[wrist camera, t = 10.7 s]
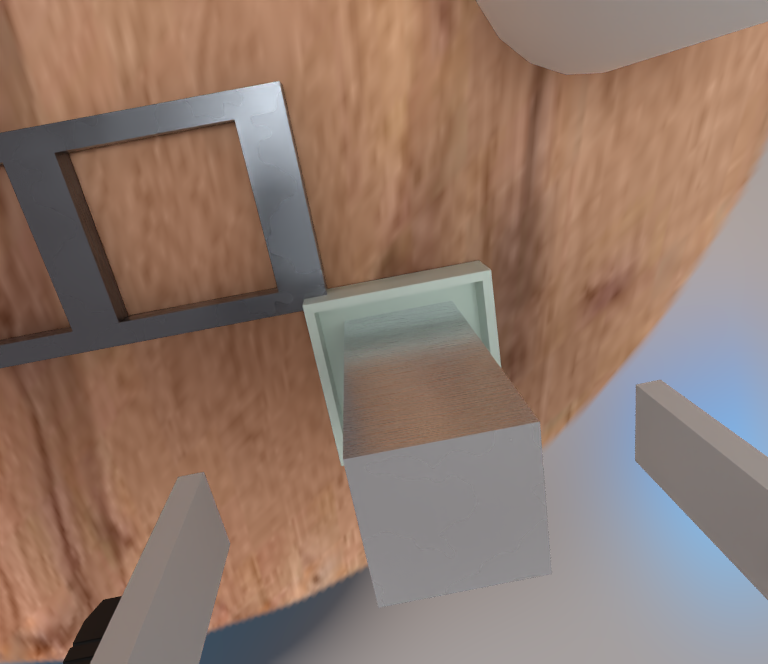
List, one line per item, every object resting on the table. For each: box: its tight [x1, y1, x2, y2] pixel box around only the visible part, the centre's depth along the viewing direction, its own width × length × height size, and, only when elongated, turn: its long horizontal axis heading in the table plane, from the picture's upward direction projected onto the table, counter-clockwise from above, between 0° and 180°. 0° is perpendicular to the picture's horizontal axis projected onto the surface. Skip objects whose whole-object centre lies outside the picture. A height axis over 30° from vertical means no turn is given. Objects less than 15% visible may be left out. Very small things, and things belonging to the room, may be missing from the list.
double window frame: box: [0, 81, 328, 368], centre depth 21 cm, size 20×9×1 cm, turn 100°
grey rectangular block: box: [343, 301, 552, 607], centre depth 19 cm, size 5×5×11 cm
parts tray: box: [302, 260, 501, 466], centre depth 23 cm, size 8×8×2 cm
